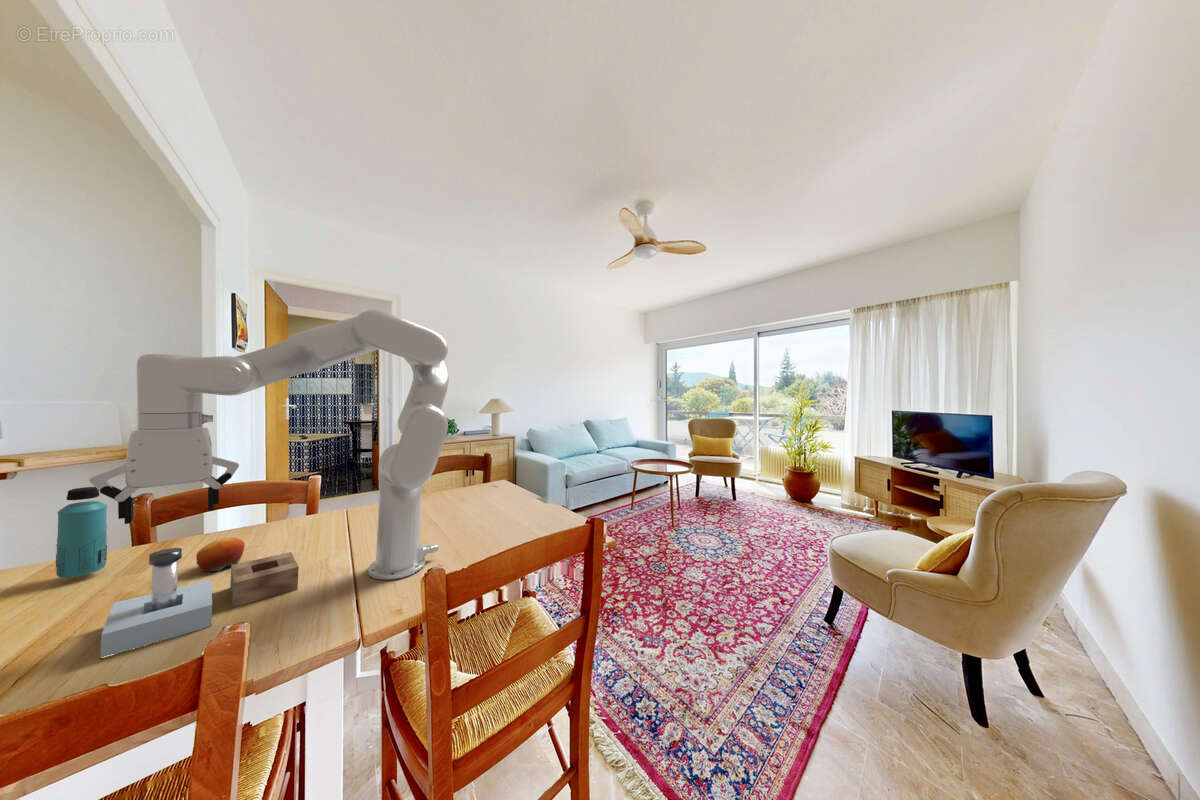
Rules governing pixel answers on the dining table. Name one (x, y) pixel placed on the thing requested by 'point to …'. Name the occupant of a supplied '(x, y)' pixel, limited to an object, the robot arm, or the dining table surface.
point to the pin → (164, 578)
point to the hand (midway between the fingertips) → (172, 514)
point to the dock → (156, 619)
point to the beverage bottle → (81, 535)
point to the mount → (263, 578)
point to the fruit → (220, 554)
